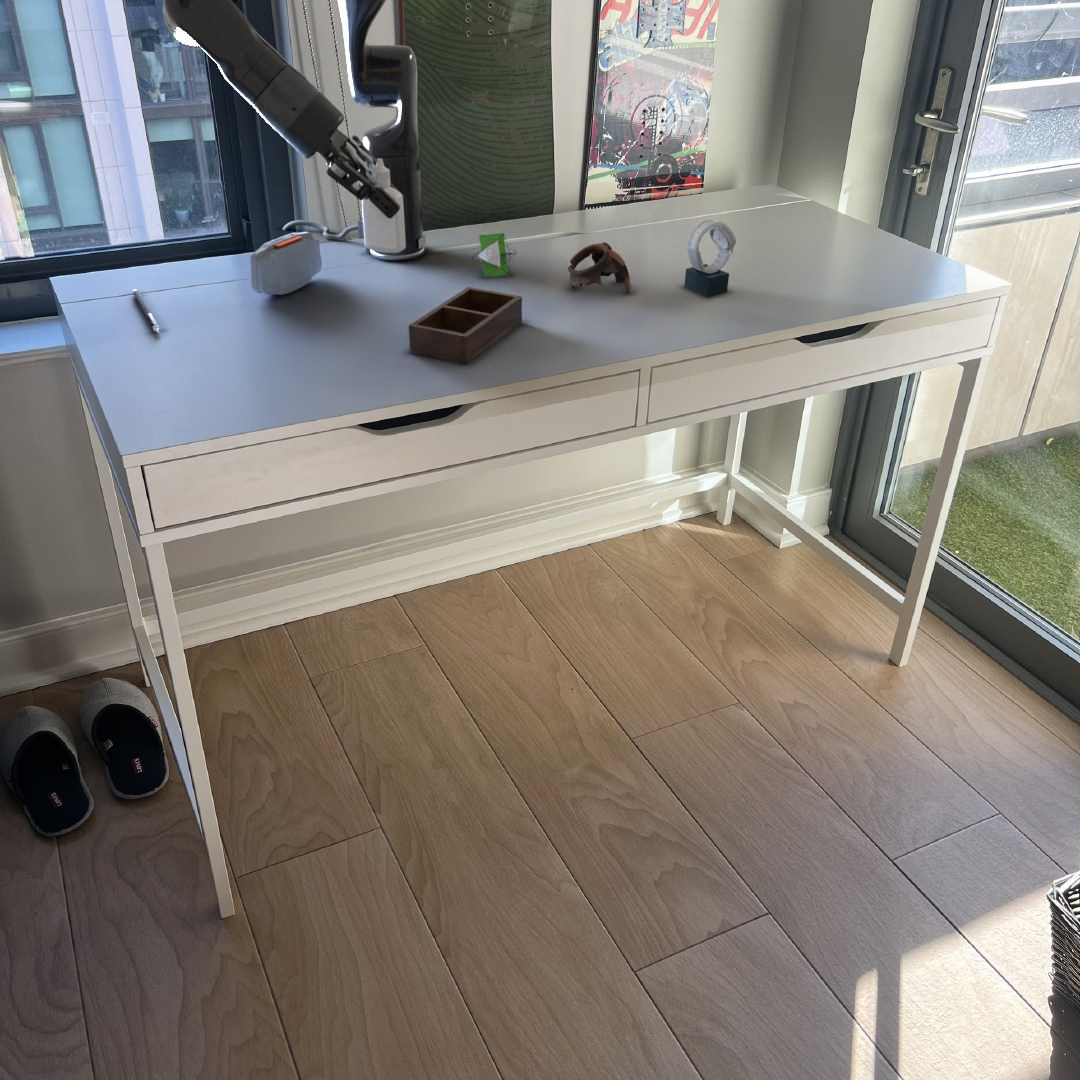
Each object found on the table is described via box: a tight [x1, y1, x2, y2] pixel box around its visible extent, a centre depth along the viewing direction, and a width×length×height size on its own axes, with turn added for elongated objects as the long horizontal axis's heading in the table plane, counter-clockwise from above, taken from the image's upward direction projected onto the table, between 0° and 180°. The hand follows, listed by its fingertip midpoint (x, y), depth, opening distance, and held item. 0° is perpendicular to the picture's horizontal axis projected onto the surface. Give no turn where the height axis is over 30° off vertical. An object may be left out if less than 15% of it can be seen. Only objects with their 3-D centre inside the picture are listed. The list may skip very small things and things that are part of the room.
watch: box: [683, 219, 737, 298], centre depth 169 cm, size 6×8×11 cm
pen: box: [132, 288, 160, 333], centre depth 160 cm, size 1×19×1 cm, turn 27°
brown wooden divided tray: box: [408, 286, 523, 365], centre depth 153 cm, size 9×17×4 cm, turn 155°
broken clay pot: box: [567, 241, 632, 295], centre depth 171 cm, size 12×10×8 cm
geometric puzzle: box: [471, 232, 518, 278], centre depth 175 cm, size 7×7×8 cm
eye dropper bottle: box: [361, 159, 406, 253], centre depth 143 cm, size 4×6×12 cm
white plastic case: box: [250, 231, 323, 296], centre depth 168 cm, size 14×3×8 cm, turn 150°
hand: (397, 207), depth 143 cm, fingers closed on eye dropper bottle, 4 cm apart
